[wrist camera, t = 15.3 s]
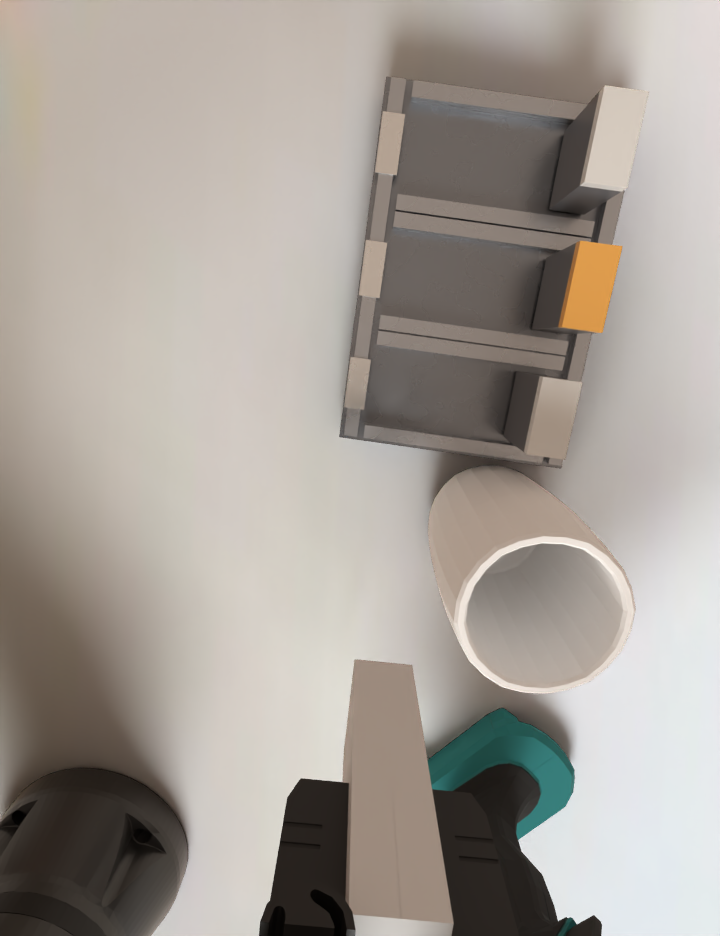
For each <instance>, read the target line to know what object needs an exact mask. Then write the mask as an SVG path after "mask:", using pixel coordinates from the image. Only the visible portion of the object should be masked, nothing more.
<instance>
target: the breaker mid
mask: <svg viewBox="0 0 720 936" xmlns="http://www.w3.org/2000/svg"><path fill="white" fill-rule="evenodd" d="M621 250H622V246H616V245H609V244H602V243H595V242H588V241H579V242H577V243H575V244H573V245H571V246H569V247H567V248H565V249H563V250H561V251H559V252H557V253H555V254H553V255H551V256H549V257H547V258H546V262H545V267H544V272H543V277H542V282H541V287H540V292H539V297H538V302H537V307H536V312H535V316H534V321H533V326H532V330H539V331H547V332H554V333H561V334H582V333H602V332H603V328H604V324H605V319H606V315H607V311H608V306H609V302H610V298H611V293H612V289H613V285H614V281H615V276H616V272H617V268H618V263H619V259H620V255H621Z"/></svg>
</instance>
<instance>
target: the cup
mask: <svg viewBox="0 0 720 936" xmlns="http://www.w3.org/2000/svg"><path fill="white" fill-rule="evenodd" d="M428 536H429V546H430V552H431V558H432V563H433V568H434V572H435V576H436V580H437V584H438V588H439V592H440V596H441V599H442V602H443V605H444V608H445V611H446V613H447V616H448V619H449V621H450V623H451V626H452V628H453V630H454V632H455V634H456V637H457V639H458V641H459V643H460V645H461V647H462V649H463V651H464V653H465V654H466V656H467V658H468V660H469V661H470V662H471V663H472V664H473V665H474V666H475V667H476V668H477V669H478V670H479V671H480V672H481V673H482V674H483V675H484V676H485V677H487V678H488V679H490V680H491V681H493V682H494V683H496V684H498V685H499V686H501V687H503V688H507V689H511V690H515V691H519V692H523V693H541V694H547V693H553V692H558V691H564V690H569V689H571V688H574V687H577V686H579V685H582V684H584V683H587V682H590V681H591V680H592V679H594V678H595V677H596V676H597V675H599V674H600V673H601V672H602V671H604V670H605V669H606V668H607V667H608V666H609V665H610V664H611V663H612V662H613V660H614V659H615V658H616V657H617V656H618V654H619V653H620V652H621V651H622V649H623V647H624V645H625V643H626V641H627V638H628V636H629V634H630V632H631V629H632V624H633V620H634V615H635V610H636V608H635V602H634V597H633V591H632V587H631V585H630V583H629V581H628V578H627V576H626V574H625V572H624V569H623V568H622V566H621V565H620V564H619V563H618V561H617V560H616V559H615V558H614V556H613V555H612V554H611V553H610V551H609V550H608V549H607V548H606V546H605V545H604V544H603V543H602V542H601V541H600V540H599V538H598V537H597V536H596V535H595V534H594V533H593V532H592V531H591V529H590V528H589V527H588V526H587V525H586V524H585V523H584V522H583V521H582V520H581V519H580V518H579V517H578V516H577V515H576V514H575V513H574V512H573V511H572V510H571V509H569V508H568V507H567V506H566V505H565V504H564V503H562V502H561V501H560V500H559V499H557V498H556V497H555V496H554V495H552V494H551V493H550V492H548V491H547V490H545V489H544V488H543V487H541V486H540V485H538V484H537V483H535V482H534V481H532V480H531V479H529V478H528V477H526V476H525V475H524V474H522V473H520V472H518V471H517V470H514V469H510V468H507V467H503V466H491V465H483V466H479V467H474V468H470V469H467V470H465V471H463V472H460V473H458V474H456V475H454V476H453V477H452V478H451V479H450V480H449V481H448V482H447V483H446V484H445V485H444V486H443V487H442V488H441V490H440V491H439V493H438V494H437V496H436V497H435V499H434V501H433V504H432V507H431V510H430V514H429V523H428Z"/></svg>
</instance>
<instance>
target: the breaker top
mask: <svg viewBox="0 0 720 936" xmlns="http://www.w3.org/2000/svg"><path fill="white" fill-rule="evenodd" d="M648 95H649V91H643V90H635V89H628V88H621V87H614V86H607V85H605V86H604V87H603V88H602V89H601V90H600V91H599V92H598V94H597V95H596V96H595V97H594V98H593V99H592V100H591V102H590V103H589V104H588V105H587V106H586V107H585V108H584V109H583V111H582V112H581V113H580V114H579V115H578V116H577V117H576V119H575V120H574V121H573V122H572V123H571V124H570V125H569V127H568V128H567V129H566V130H565V132H564V137H563V142H562V147H561V152H560V157H559V162H558V167H557V172H556V177H555V182H554V187H553V192H552V197H551V202H550V207H549V210H554V211H562V212H569V213H576V214H583V215H585V214H586V213H588V212H590V211H591V210H593V209H594V208H596V207H598V206H599V205H601V204H602V203H604V202H606V201H607V200H609V199H611V198H612V197H614V196H615V195H617V194H619V193H620V192H622V191H623V190H625V189H627V187H628V182H629V178H630V173H631V169H632V165H633V160H634V156H635V152H636V147H637V143H638V138H639V134H640V130H641V125H642V121H643V117H644V112H645V108H646V103H647V99H648Z"/></svg>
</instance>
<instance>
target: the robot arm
mask: <svg viewBox="0 0 720 936" xmlns="http://www.w3.org/2000/svg"><path fill="white" fill-rule="evenodd" d="M187 861H188V849H187V842H186V838H185V835H184V832H183V829H182V827H181V825H180V823H179V821H178V819H177V817H176V816H175V814H174V813H173V812H172V810H171V809H170V808H169V807H168V805H167V804H166V803H165V802H164V801H163V800H162V799H161V798H160V797H159V796H157V795H156V794H155V793H154V792H152V791H151V790H150V789H148V788H147V787H145V786H144V785H142V784H140V783H138V782H137V781H135V780H133V779H130V778H128V777H126V776H123V775H120V774H117V773H114V772H110V771H105V770H100V769H89V768H77V769H68V770H62V771H58V772H55V773H51V774H49V775H46V776H44V777H42V778H40V779H38V780H36V781H35V782H33V783H32V784H30V785H29V786H28V787H27V788H26V789H24V790H23V791H22V792H21V794H20V795H19V796H18V797H17V798H16V800H15V801H14V802H13V804H12V805H11V806H10V807H9V809H8V810H7V811H6V812H5V814H4V815H3V816H2V818H1V819H0V936H151V935H152V934H153V932H154V931H155V930H156V928H157V927H158V926H159V924H160V923H161V922H162V920H163V919H164V918H165V917H166V915H167V914H168V912H169V910H170V909H171V907H172V905H173V903H174V901H175V899H176V896H177V893H178V891H179V888H180V885H181V883H182V880H183V877H184V874H185V871H186V867H187ZM259 936H519V933H518V929H517V926H516V922H515V918H514V915H513V911H512V907H511V903H510V900H509V896H508V892H507V889H506V885H505V881H504V878H503V874H502V870H501V866H500V865H499V859H498V855H497V852H496V848H495V844H493V837H492V833H491V829H490V826H489V822H488V818H487V815H486V813H485V812H484V810H483V809H482V808H481V806H480V805H479V804H478V802H477V801H476V799H475V798H474V797H473V795H472V794H471V793H466V792H455V791H445V790H434V789H432V786H431V780H430V773H429V767H428V761H427V755H426V749H425V742H424V736H423V730H422V724H421V718H420V711H419V705H418V699H417V693H416V686H415V680H414V674H413V668H412V665H406V664H396V663H386V662H376V661H366V660H356V659H355V661H354V669H353V678H352V686H351V695H350V703H349V712H348V720H347V729H346V737H345V746H344V761H343V782H333V781H322V780H312V779H300V780H299V782H298V783H297V785H296V786H295V787H294V789H293V790H292V792H291V793H290V795H289V796H288V797H287V803H286V809H285V815H284V821H283V827H282V833H281V839H280V846H279V851H278V857H277V863H276V869H275V875H274V881H273V887H272V892H271V898H270V901H269V902H268V903H267V905H266V908H265V911H264V913H263V916H262V919H261V921H260V931H259Z"/></svg>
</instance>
